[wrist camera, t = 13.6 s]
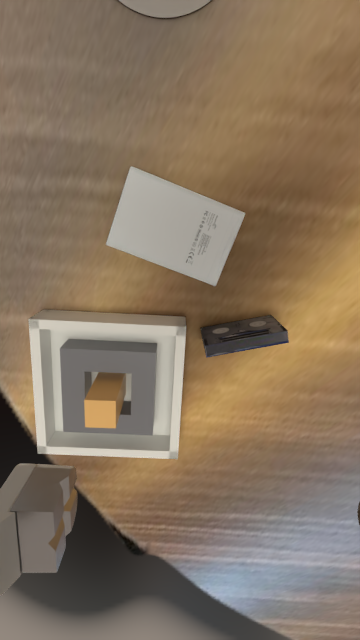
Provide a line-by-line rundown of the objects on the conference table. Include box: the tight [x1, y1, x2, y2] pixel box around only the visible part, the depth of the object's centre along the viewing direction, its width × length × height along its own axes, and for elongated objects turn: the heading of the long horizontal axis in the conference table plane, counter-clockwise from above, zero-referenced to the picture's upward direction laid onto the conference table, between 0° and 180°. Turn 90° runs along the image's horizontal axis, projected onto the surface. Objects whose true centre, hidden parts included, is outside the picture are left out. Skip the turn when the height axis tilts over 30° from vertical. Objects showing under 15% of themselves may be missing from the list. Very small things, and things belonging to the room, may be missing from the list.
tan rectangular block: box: [84, 372, 126, 428], centre depth 36 cm, size 3×3×7 cm
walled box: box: [29, 309, 186, 459], centre depth 38 cm, size 16×16×4 cm
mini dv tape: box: [201, 315, 289, 357], centre depth 36 cm, size 8×2×6 cm, turn 101°
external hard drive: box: [106, 166, 245, 286], centre depth 35 cm, size 2×8×12 cm
